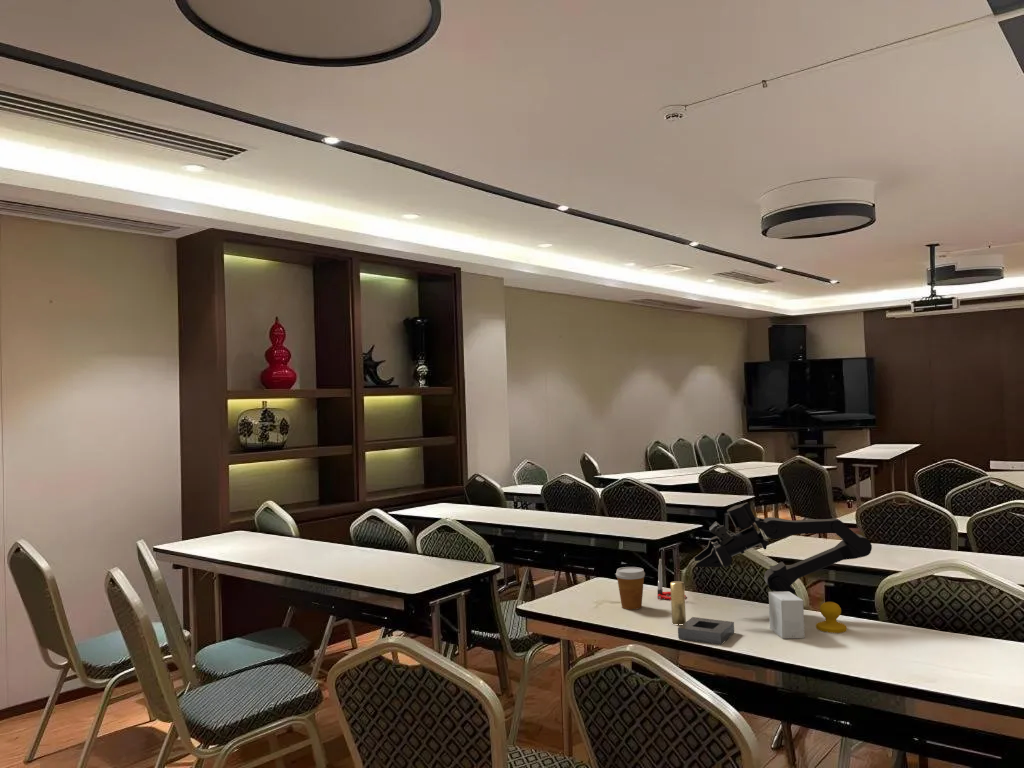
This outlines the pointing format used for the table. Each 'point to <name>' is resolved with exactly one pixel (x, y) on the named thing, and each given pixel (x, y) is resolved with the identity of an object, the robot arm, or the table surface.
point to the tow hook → (660, 591)
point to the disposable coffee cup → (630, 586)
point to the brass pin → (678, 602)
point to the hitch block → (706, 630)
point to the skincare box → (786, 615)
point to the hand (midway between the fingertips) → (695, 562)
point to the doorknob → (831, 619)
